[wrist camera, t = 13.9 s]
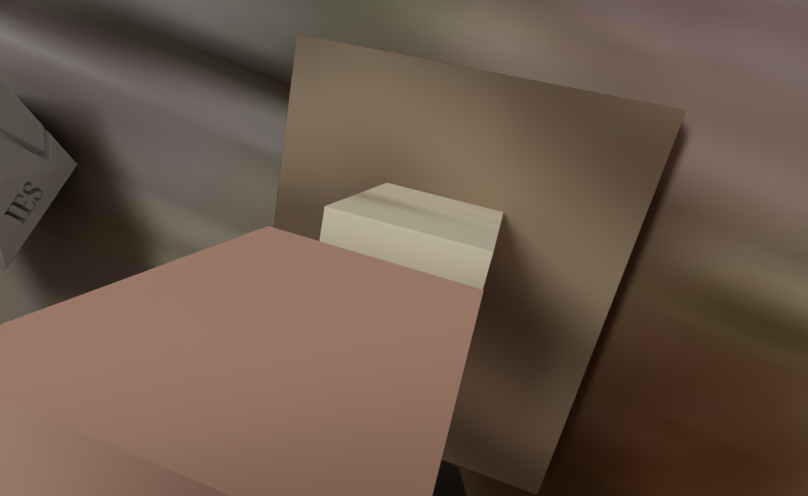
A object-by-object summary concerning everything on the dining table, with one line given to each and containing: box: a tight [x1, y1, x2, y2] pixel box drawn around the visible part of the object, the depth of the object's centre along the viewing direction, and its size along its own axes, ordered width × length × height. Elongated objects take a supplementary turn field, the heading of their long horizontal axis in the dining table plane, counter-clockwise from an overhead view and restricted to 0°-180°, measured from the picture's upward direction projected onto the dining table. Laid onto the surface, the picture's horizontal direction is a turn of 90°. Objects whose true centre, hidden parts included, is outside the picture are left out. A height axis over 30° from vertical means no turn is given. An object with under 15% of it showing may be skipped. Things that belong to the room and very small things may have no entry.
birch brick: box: [319, 183, 504, 290], centre depth 13 cm, size 6×4×5 cm, turn 169°
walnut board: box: [274, 34, 686, 495], centre depth 16 cm, size 14×12×1 cm
